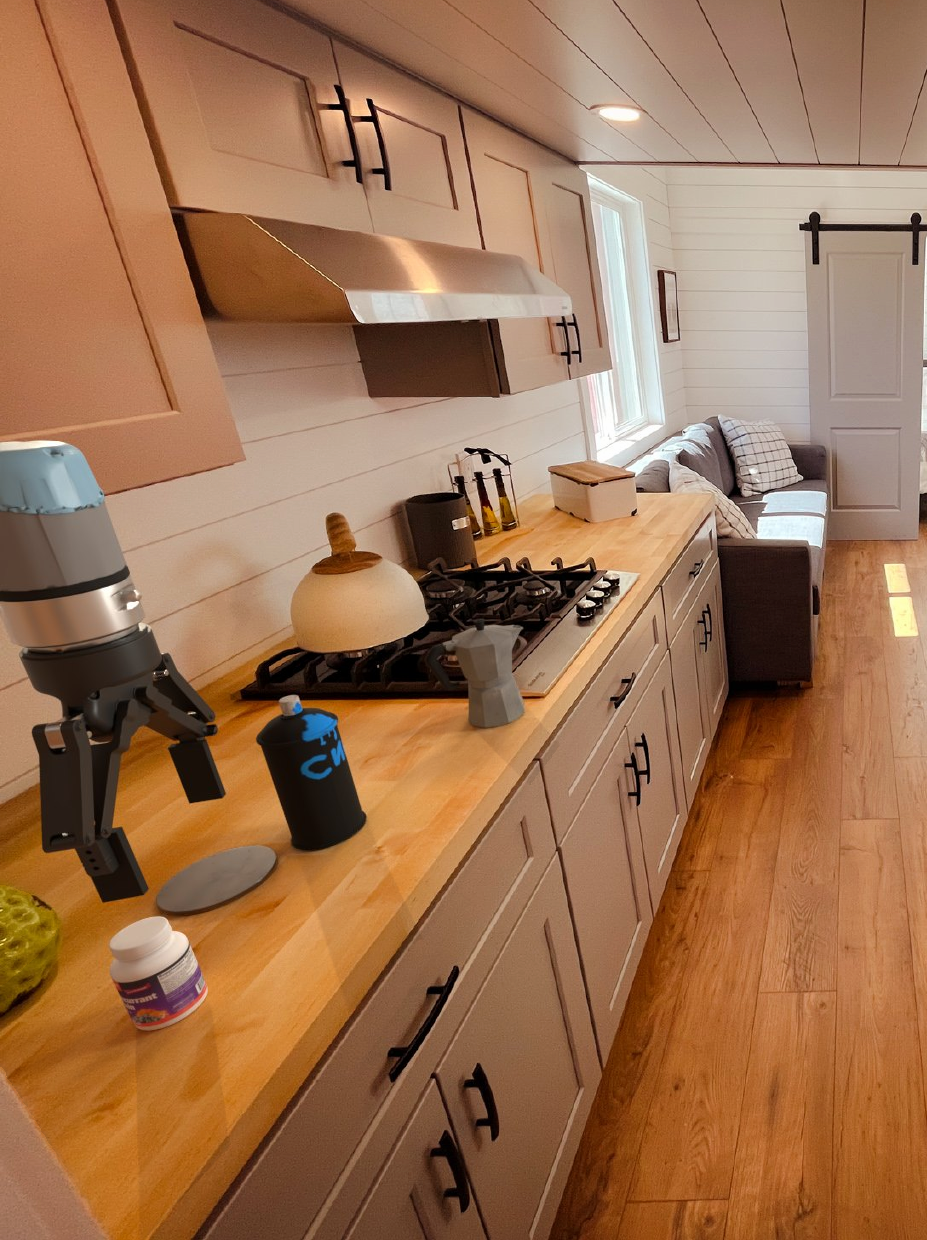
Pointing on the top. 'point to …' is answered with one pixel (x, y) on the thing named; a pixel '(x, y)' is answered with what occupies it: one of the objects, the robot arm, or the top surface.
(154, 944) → the pill bottle
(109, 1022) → the top surface
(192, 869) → the coaster
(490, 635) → the coffeepot
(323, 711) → the aerosol can
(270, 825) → the top surface
